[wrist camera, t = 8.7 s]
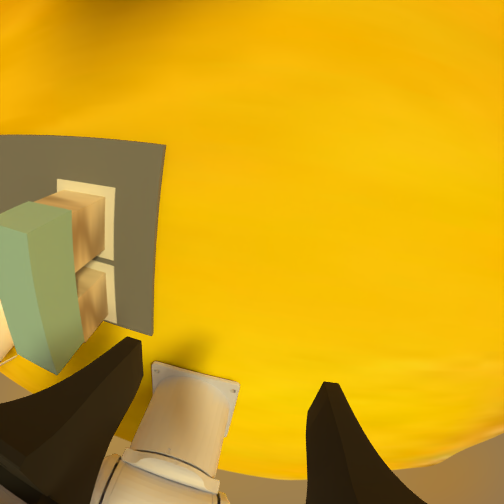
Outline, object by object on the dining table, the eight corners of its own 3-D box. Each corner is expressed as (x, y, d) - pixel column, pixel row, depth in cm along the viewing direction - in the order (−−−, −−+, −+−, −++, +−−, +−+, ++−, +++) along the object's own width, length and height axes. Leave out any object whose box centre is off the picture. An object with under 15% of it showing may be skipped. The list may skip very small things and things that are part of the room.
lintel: (84, 340, 19) (57, 375, 16) (45, 324, 20) (17, 353, 16) (71, 210, 15) (26, 233, 12) (28, 201, 16) (-15, 220, 12)
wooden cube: (108, 314, 23) (85, 342, 20) (71, 301, 23) (46, 326, 20) (105, 272, 22) (77, 299, 18) (66, 261, 22) (37, 283, 18)
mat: (153, 333, 24) (151, 336, 23) (8, 279, 24) (5, 281, 24) (166, 145, 18) (163, 145, 17) (-3, 135, 18) (-7, 135, 18)
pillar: (104, 249, 21) (75, 273, 17) (64, 238, 21) (33, 259, 17) (105, 197, 19) (71, 213, 16) (63, 189, 19) (28, 204, 16)
